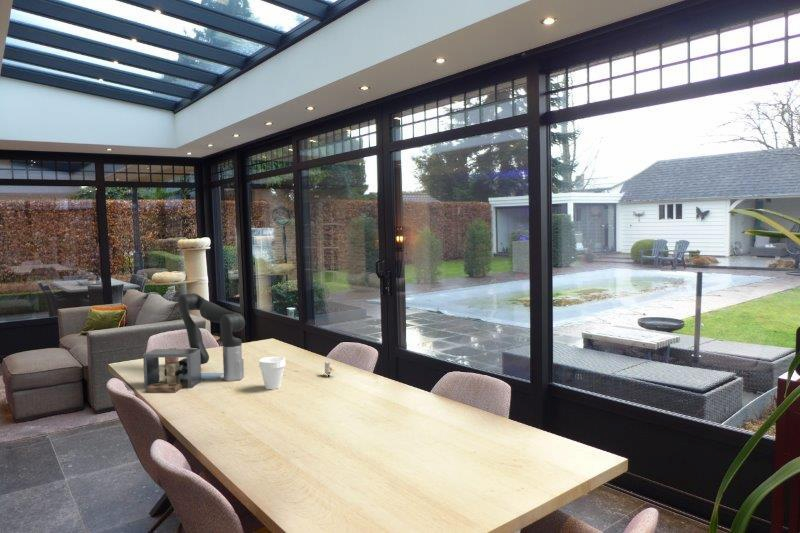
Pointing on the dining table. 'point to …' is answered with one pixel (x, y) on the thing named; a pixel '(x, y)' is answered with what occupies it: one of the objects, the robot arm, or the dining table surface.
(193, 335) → the robot arm
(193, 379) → the tunnel
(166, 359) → the lighter
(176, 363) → the maple block
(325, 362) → the architectural model
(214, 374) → the mat
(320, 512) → the dining table surface
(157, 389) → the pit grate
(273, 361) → the cup
